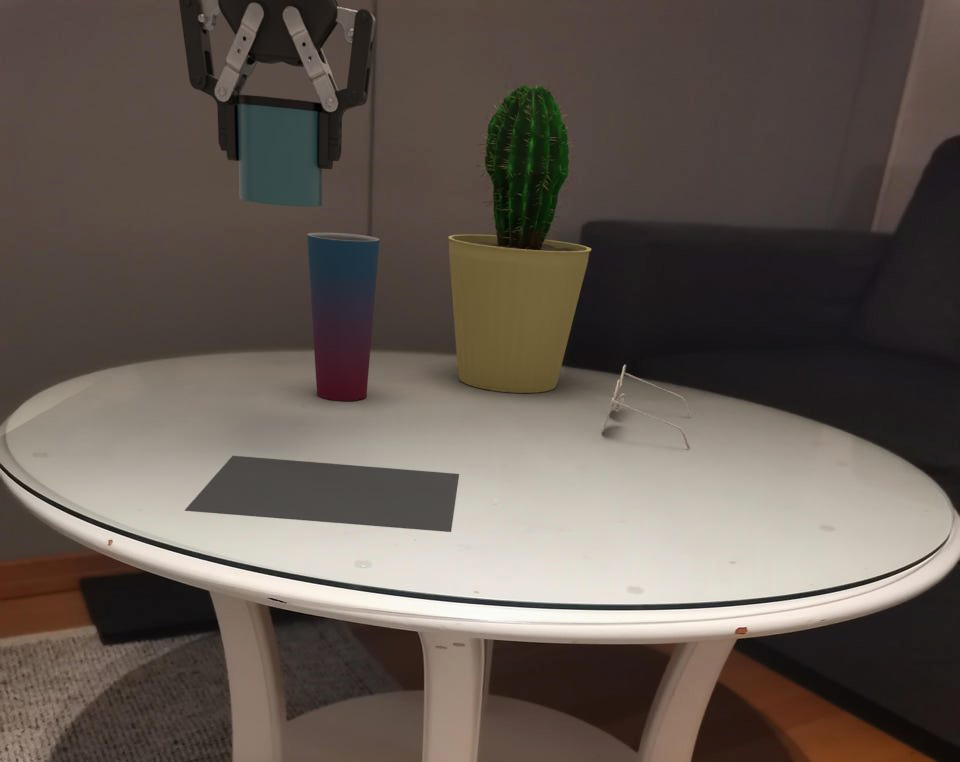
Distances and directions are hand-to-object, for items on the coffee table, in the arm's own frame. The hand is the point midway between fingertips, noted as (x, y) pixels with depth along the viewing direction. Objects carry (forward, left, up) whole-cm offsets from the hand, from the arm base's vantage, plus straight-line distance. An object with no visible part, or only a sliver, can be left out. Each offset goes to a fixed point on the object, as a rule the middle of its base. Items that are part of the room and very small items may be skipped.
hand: (280, 163), depth 74 cm
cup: (+2, +17, -21) cm, 28 cm away
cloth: (+6, -14, -21) cm, 26 cm away
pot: (0, +3, -3) cm, 4 cm away
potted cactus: (+19, +30, -21) cm, 42 cm away
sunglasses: (+33, +14, -21) cm, 42 cm away
